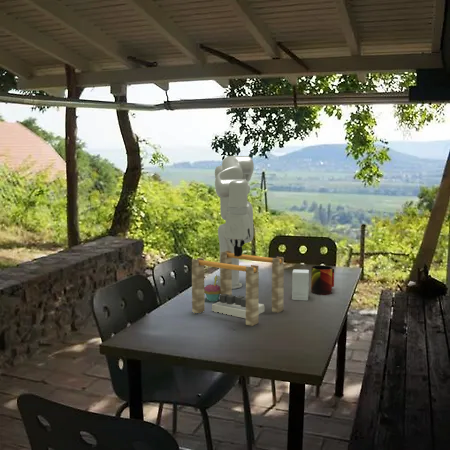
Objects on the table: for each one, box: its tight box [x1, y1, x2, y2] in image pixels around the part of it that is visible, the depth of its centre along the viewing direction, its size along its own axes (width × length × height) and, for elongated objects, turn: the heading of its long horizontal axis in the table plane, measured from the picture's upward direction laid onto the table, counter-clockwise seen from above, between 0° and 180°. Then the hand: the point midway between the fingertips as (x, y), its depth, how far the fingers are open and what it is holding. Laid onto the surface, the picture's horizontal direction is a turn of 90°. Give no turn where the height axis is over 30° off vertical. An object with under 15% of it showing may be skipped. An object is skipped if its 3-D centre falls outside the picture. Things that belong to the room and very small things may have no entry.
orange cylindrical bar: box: [227, 253, 282, 264], centre depth 210 cm, size 29×2×2 cm, turn 55°
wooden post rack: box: [191, 251, 285, 327], centre depth 203 cm, size 29×24×22 cm
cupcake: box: [204, 274, 221, 302], centre depth 221 cm, size 9×8×12 cm
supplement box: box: [291, 268, 310, 302], centre depth 223 cm, size 7×7×13 cm
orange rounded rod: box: [199, 260, 256, 273], centre depth 194 cm, size 29×2×2 cm, turn 55°
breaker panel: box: [211, 294, 265, 319], centre depth 204 cm, size 18×12×6 cm, turn 55°
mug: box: [310, 265, 335, 296], centre depth 236 cm, size 10×14×12 cm
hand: (238, 255), depth 202 cm, fingers closed
